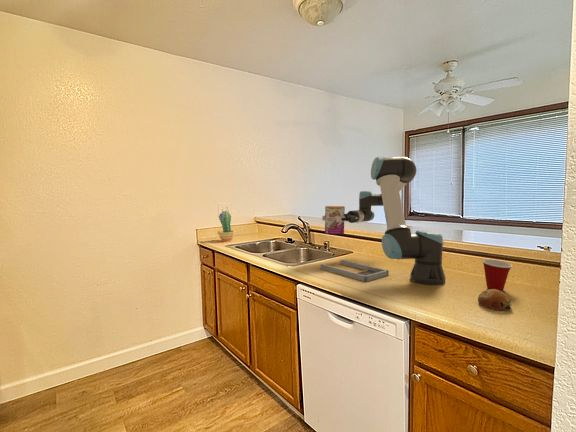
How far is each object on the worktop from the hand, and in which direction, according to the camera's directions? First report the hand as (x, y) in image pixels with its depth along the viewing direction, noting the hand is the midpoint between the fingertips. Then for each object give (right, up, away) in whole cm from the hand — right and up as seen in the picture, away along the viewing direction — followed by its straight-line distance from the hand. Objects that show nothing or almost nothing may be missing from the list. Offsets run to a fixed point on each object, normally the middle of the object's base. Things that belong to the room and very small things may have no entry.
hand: (329, 218), depth 179 cm
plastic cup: (+65, -30, -46) cm, 85 cm away
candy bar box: (+3, -9, +3) cm, 10 cm away
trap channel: (+10, -28, -17) cm, 34 cm away
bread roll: (+52, -32, -64) cm, 89 cm away
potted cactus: (-75, -19, +80) cm, 112 cm away
